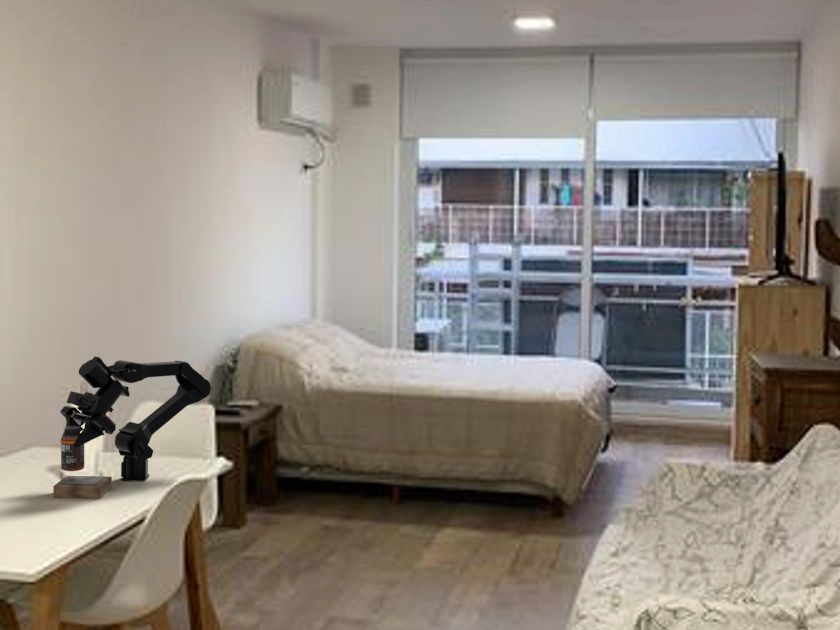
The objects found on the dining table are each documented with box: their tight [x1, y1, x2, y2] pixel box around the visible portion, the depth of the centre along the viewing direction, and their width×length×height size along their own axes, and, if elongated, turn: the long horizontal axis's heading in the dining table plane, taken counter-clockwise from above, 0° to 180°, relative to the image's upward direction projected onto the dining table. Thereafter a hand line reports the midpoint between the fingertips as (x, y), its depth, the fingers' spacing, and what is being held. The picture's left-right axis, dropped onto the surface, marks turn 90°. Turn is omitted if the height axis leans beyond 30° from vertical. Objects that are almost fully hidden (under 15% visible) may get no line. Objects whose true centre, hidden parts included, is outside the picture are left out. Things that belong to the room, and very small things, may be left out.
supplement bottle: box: [60, 426, 85, 472], centre depth 297 cm, size 6×6×11 cm
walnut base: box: [52, 475, 113, 499], centre depth 295 cm, size 12×12×3 cm
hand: (68, 444), depth 296 cm, fingers closed on supplement bottle, 6 cm apart
